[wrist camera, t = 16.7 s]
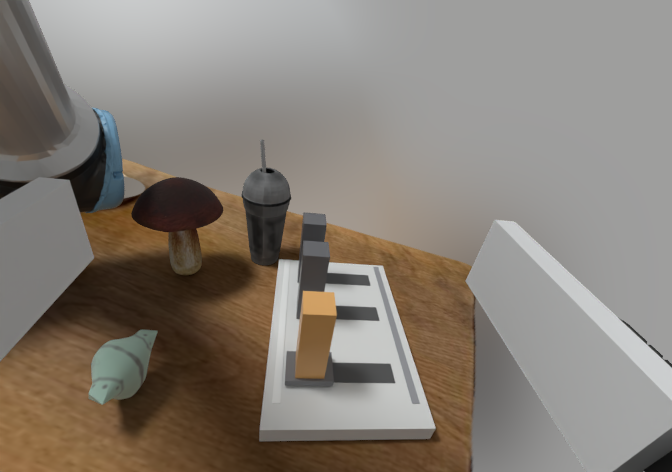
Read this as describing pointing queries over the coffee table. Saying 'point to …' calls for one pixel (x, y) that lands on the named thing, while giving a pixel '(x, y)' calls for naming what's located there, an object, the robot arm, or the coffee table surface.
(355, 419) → the slotted peg board
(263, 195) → the beverage cup
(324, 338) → the breaker handle
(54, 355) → the coffee table surface
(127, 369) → the green toy bird
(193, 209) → the decorative mushroom
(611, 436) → the robot arm
